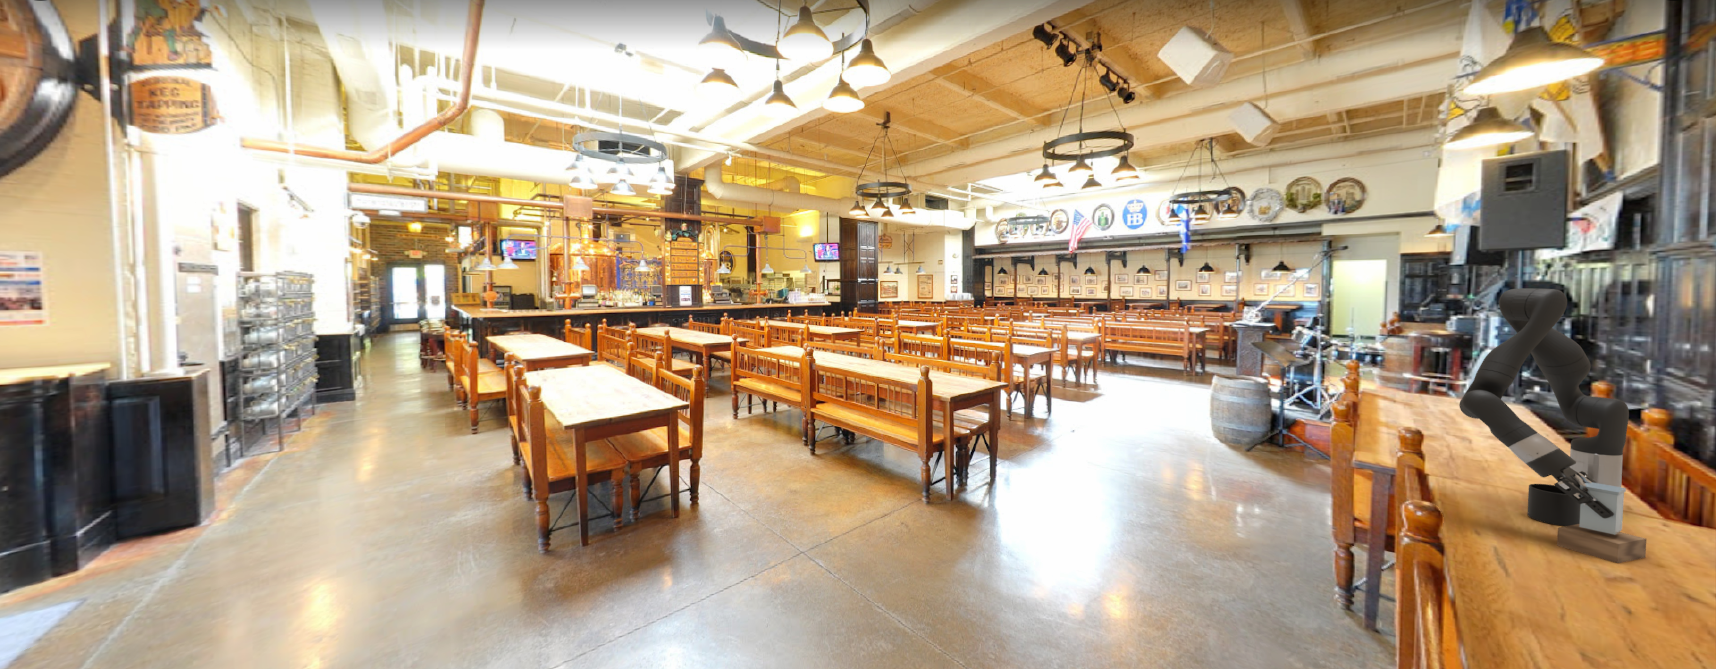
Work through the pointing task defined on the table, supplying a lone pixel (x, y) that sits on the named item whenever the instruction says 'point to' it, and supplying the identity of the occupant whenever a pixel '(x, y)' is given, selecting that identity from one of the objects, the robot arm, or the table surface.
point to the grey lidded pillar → (1612, 500)
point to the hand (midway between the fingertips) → (1613, 514)
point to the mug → (1552, 505)
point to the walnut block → (1602, 543)
